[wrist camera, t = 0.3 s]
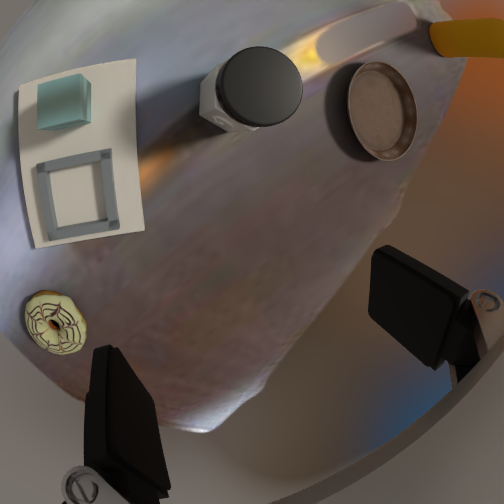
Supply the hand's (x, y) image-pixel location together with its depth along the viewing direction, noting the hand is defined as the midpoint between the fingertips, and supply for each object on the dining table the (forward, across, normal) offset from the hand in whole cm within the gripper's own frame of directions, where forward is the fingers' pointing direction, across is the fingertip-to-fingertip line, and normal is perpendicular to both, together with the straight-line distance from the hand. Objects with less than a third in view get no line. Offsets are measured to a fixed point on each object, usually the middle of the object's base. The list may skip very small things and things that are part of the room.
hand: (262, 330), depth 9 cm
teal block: (+28, +10, -14) cm, 33 cm away
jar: (+30, -9, -10) cm, 33 cm away
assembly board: (+30, +11, -8) cm, 33 cm away
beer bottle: (+30, -62, -25) cm, 73 cm away
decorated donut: (+30, +24, +13) cm, 41 cm away
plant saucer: (+30, -35, -6) cm, 47 cm away
